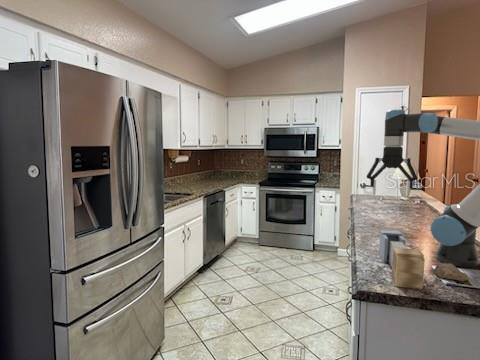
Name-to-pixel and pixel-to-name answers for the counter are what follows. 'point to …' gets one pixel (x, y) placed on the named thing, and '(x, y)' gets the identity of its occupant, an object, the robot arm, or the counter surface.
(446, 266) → the rock
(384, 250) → the grey u-shaped block
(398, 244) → the light grey long block
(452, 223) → the robot arm
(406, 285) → the cardboard box
